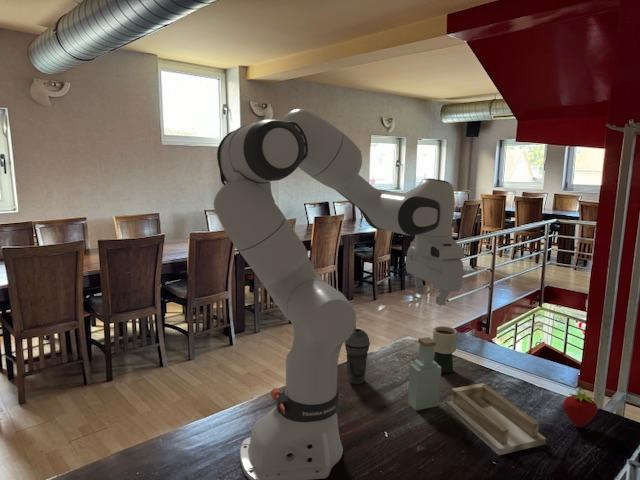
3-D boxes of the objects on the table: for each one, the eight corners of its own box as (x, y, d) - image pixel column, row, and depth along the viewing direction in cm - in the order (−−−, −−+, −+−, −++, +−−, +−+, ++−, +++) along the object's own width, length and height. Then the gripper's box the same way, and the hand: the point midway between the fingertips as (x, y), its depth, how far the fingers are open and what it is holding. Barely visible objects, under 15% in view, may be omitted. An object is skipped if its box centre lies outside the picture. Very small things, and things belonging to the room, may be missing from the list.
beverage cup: (367, 387, 124) (369, 320, 121) (341, 384, 126) (343, 318, 122) (369, 375, 132) (372, 311, 128) (345, 372, 133) (347, 309, 129)
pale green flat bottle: (415, 410, 114) (419, 344, 110) (407, 402, 117) (411, 338, 114) (438, 406, 116) (443, 341, 113) (430, 398, 120) (434, 335, 116)
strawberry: (555, 419, 111) (560, 382, 109) (586, 420, 111) (591, 383, 109) (568, 433, 105) (573, 395, 103) (600, 434, 105) (605, 396, 103)
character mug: (461, 377, 131) (465, 336, 129) (439, 379, 130) (442, 338, 127) (444, 361, 142) (447, 323, 139) (424, 363, 140) (426, 324, 138)
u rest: (498, 455, 97) (500, 434, 96) (445, 407, 115) (447, 389, 114) (545, 444, 101) (547, 424, 100) (486, 399, 119) (488, 382, 119)
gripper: (401, 238, 117) (398, 288, 120) (445, 254, 98) (442, 313, 101) (421, 237, 119) (419, 286, 122) (469, 252, 100) (465, 310, 103)
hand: (429, 298), depth 111 cm, fingers open, 8 cm apart
